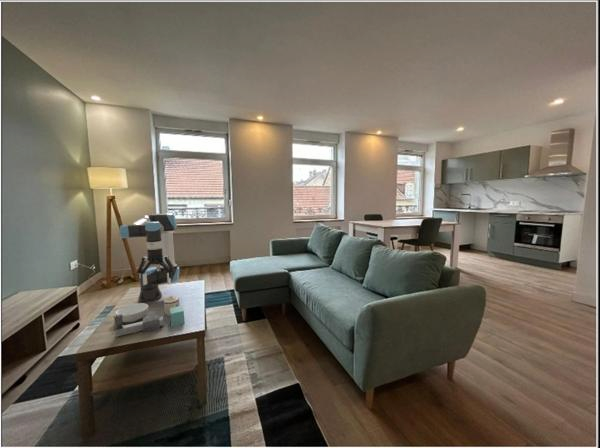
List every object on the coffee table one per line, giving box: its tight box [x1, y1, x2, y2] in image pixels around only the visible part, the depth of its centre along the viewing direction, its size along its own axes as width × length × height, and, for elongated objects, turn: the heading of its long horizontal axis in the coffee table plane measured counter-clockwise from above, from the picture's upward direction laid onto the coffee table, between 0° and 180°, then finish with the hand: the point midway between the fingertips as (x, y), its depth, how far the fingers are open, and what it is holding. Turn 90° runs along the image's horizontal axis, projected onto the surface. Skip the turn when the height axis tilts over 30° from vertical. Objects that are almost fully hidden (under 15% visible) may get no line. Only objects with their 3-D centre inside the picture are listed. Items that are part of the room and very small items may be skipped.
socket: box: [169, 305, 185, 328], centre depth 147 cm, size 9×7×8 cm
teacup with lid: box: [163, 294, 180, 317], centre depth 161 cm, size 12×9×12 cm
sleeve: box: [142, 313, 161, 334], centre depth 140 cm, size 7×8×6 cm
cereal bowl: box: [115, 302, 149, 323], centre depth 151 cm, size 17×17×7 cm
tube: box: [113, 315, 164, 337], centre depth 137 cm, size 4×23×10 cm, turn 122°
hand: (157, 283), depth 141 cm, fingers open, 13 cm apart
